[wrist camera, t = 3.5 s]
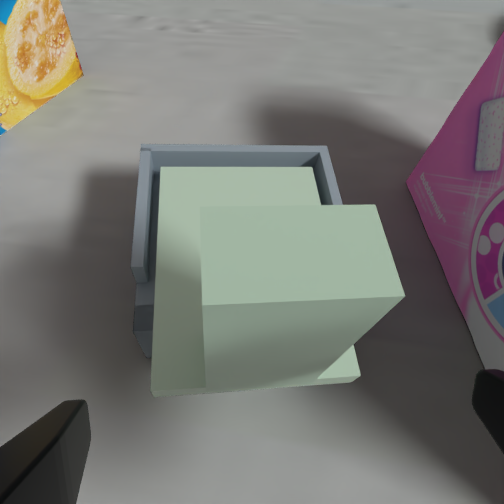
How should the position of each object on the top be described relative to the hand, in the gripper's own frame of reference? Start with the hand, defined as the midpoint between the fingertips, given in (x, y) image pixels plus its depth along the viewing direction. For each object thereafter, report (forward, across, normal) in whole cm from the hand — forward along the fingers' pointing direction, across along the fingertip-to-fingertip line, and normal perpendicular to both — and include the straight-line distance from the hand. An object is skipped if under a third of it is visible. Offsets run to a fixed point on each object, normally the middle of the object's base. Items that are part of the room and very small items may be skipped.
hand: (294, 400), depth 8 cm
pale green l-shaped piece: (+10, 0, 0) cm, 10 cm away
